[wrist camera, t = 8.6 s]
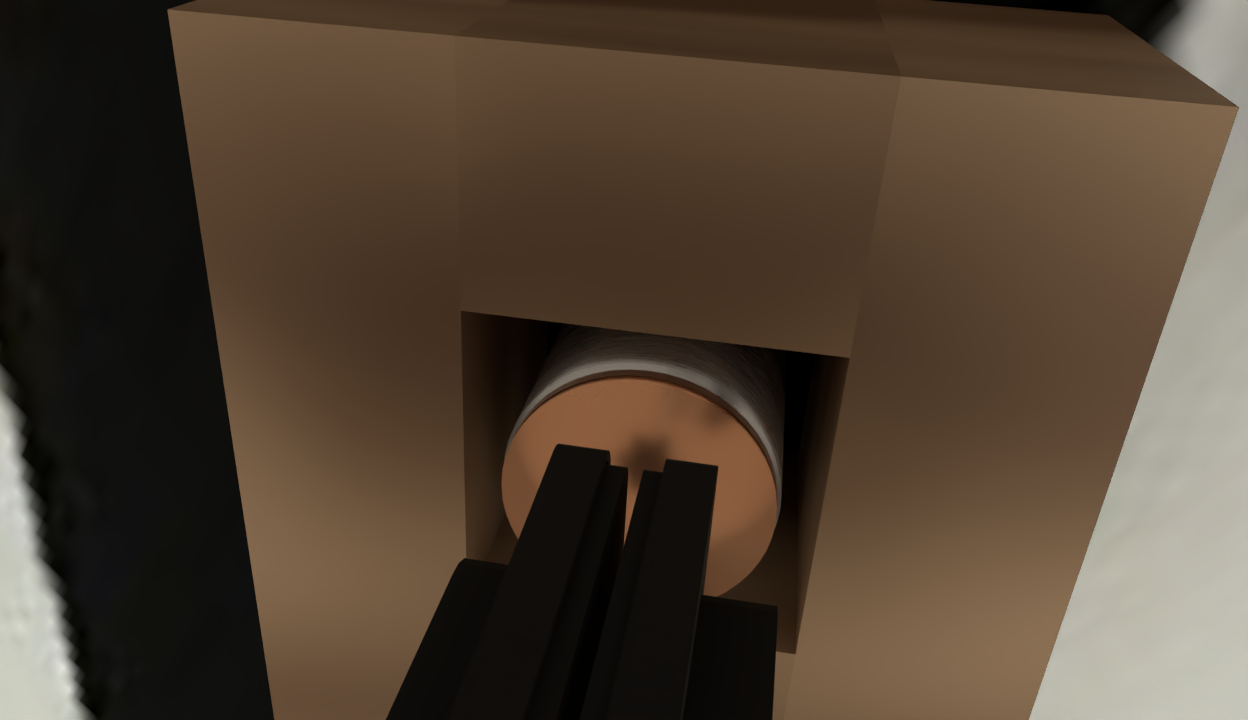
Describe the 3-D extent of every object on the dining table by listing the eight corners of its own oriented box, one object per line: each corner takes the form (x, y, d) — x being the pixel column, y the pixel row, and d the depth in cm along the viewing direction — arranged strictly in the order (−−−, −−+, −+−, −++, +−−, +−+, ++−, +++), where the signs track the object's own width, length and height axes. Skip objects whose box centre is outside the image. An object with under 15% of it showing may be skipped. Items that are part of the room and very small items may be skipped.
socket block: (347, -49, 16) (167, 9, 11) (1108, 15, 14) (1238, 107, 10) (407, 828, 25) (323, 1043, 21) (865, 910, 24) (878, 1156, 20)
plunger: (575, 219, 17) (496, 360, 12) (802, 244, 16) (799, 398, 12) (569, 411, 18) (498, 591, 14) (773, 438, 18) (762, 631, 14)
